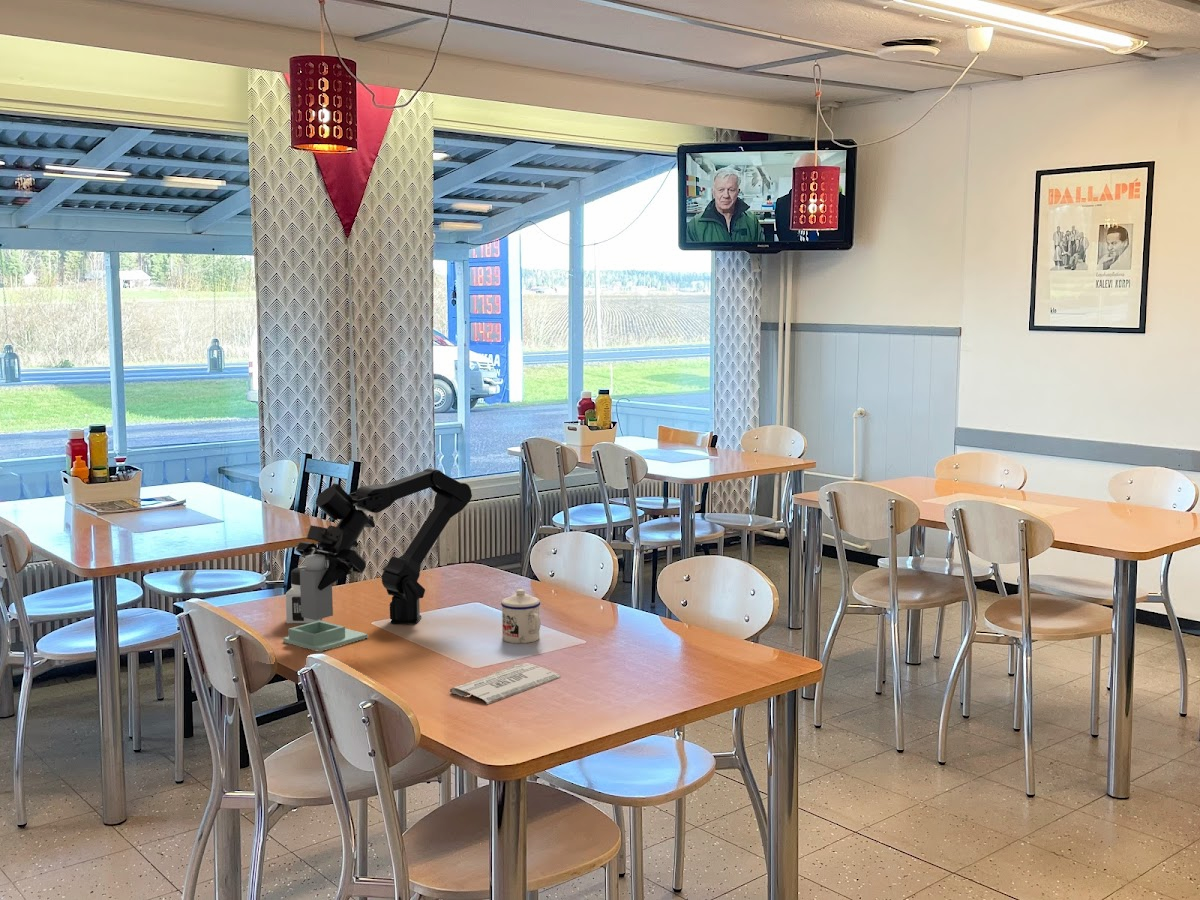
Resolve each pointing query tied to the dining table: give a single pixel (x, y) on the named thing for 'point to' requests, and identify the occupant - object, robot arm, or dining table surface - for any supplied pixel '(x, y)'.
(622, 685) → the dining table surface
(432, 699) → the dining table surface
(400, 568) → the robot arm
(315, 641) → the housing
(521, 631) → the teacup with lid
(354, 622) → the dining table surface
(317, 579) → the upright grey pillar
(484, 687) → the newspaper
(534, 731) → the dining table surface
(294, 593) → the container
